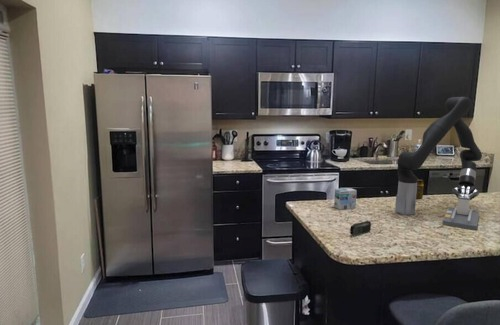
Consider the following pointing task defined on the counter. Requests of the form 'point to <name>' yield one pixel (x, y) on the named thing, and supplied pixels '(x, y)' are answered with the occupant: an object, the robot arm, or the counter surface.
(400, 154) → the robot arm
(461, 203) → the slider tab
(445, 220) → the switch board
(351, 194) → the light bulb box
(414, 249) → the counter surface
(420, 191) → the condiment
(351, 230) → the mobile phone
